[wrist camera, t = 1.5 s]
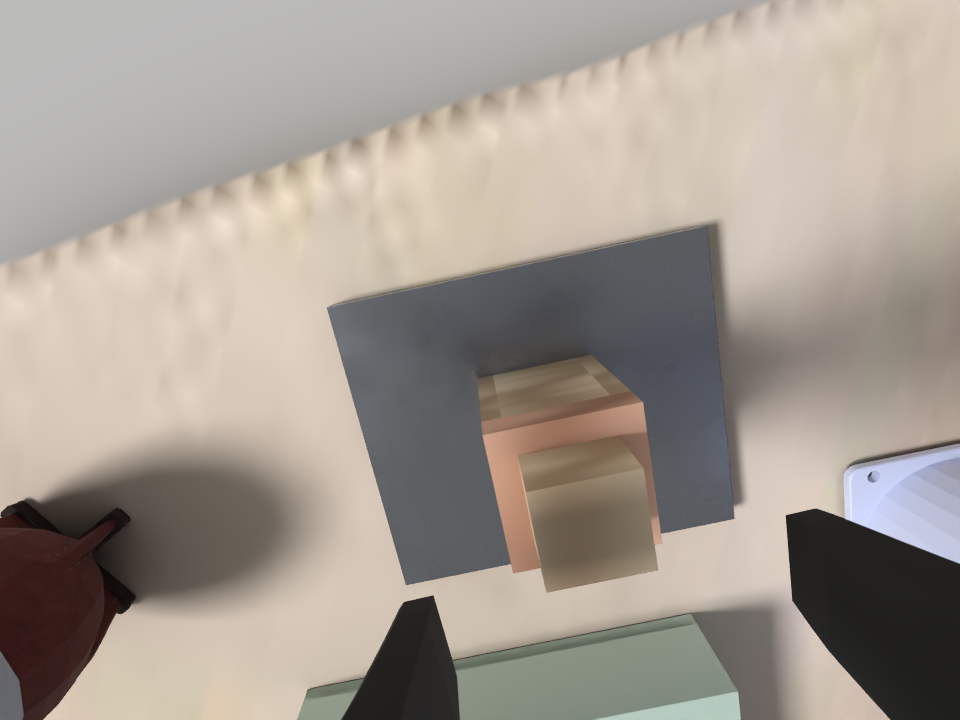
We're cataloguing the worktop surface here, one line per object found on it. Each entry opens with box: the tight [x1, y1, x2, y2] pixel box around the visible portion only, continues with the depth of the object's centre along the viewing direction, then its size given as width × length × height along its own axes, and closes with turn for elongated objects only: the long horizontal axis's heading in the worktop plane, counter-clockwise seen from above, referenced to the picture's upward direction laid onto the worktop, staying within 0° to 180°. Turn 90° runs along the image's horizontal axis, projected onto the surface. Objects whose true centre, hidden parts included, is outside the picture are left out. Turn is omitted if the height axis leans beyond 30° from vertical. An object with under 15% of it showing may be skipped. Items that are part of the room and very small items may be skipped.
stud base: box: [327, 226, 734, 585], centre depth 18 cm, size 14×12×5 cm
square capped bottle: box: [477, 355, 662, 592], centre depth 16 cm, size 4×4×8 cm
